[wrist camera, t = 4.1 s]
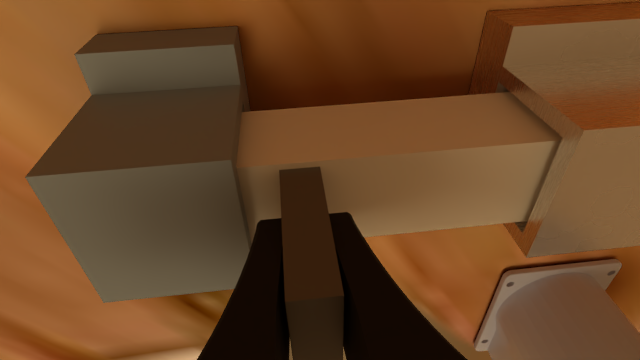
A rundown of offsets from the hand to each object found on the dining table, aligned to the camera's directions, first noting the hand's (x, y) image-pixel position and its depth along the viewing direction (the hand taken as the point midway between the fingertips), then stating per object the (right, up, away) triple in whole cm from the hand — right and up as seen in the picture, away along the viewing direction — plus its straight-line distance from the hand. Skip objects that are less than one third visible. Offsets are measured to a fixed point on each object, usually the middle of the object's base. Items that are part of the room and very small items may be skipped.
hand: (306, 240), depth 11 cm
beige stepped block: (+11, +5, +7) cm, 14 cm away
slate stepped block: (-5, +4, +5) cm, 8 cm away
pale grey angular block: (+1, +3, +4) cm, 5 cm away
